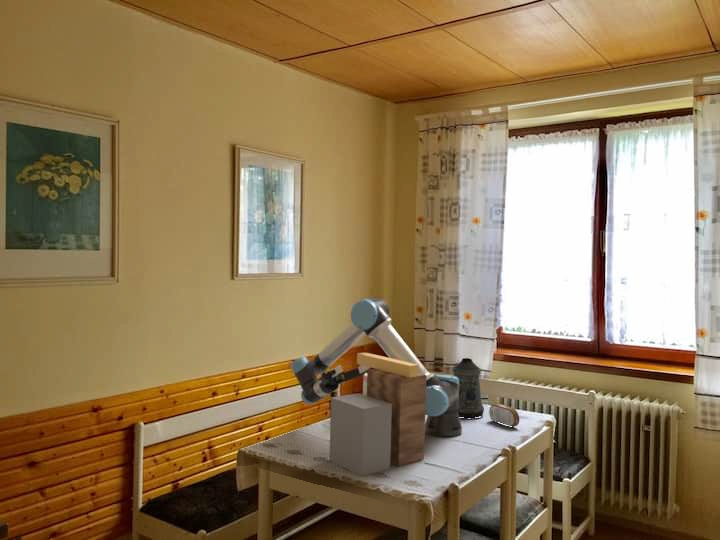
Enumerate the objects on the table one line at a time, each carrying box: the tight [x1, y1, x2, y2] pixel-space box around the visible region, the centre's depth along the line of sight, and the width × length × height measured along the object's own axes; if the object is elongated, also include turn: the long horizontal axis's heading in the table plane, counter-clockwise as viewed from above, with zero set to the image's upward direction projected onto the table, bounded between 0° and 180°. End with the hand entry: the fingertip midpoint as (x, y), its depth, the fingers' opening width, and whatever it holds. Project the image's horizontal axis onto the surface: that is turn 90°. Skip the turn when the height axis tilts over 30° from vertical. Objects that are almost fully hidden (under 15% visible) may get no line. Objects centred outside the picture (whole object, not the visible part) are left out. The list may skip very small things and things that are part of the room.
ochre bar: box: [356, 352, 419, 377], centre depth 224 cm, size 29×4×4 cm, turn 39°
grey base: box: [329, 393, 392, 477], centre depth 211 cm, size 18×12×22 cm, turn 39°
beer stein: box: [452, 357, 485, 418], centre depth 281 cm, size 16×19×25 cm
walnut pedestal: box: [366, 368, 426, 467], centre depth 221 cm, size 18×12×30 cm, turn 39°
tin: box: [488, 402, 520, 428], centre depth 265 cm, size 15×3×8 cm, turn 35°
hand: (355, 366), depth 238 cm, fingers open, 13 cm apart
